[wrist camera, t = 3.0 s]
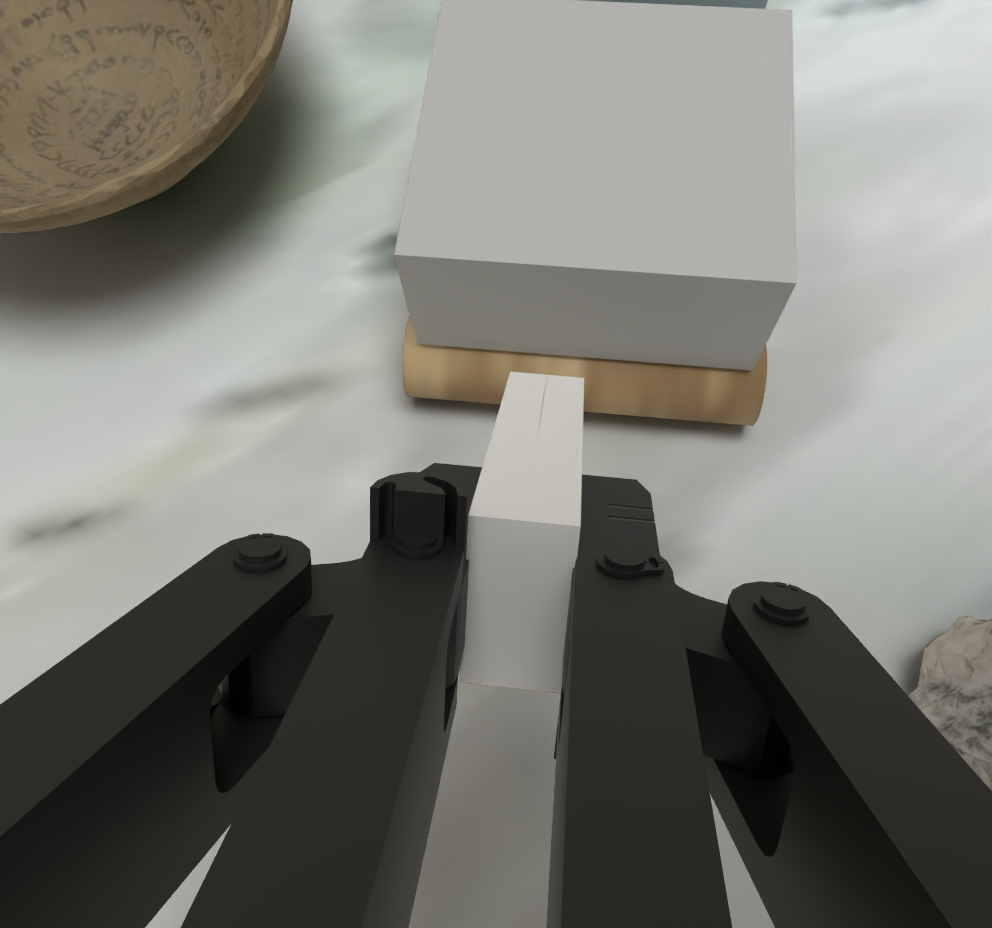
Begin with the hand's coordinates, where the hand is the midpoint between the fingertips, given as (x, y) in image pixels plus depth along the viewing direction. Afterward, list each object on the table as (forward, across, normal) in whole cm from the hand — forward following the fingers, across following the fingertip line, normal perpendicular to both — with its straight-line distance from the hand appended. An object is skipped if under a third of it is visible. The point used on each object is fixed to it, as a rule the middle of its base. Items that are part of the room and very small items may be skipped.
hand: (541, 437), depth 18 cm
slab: (+14, +1, +2) cm, 15 cm away
